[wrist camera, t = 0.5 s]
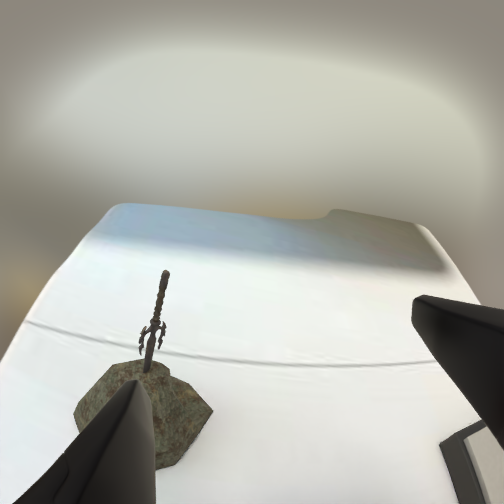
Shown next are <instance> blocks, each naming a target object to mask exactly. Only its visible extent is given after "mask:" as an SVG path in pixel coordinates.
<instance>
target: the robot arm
mask: <svg viewBox="0 0 504 504" xmlns="http://www.w3.org/2000/svg"><path fill="white" fill-rule="evenodd" d="M411 321H412V324H413V326H414V328H415V329H416V331H417V332H418V334H419V335H420V337H421V338H422V340H423V341H424V343H425V344H426V346H427V347H428V349H429V350H430V352H431V353H432V355H433V356H434V358H435V359H436V360H437V362H438V363H439V364H440V365H441V367H442V368H443V369H444V370H445V372H446V373H447V374H448V375H449V377H450V378H451V379H452V380H453V382H454V383H455V384H456V386H457V387H458V388H459V389H460V391H461V392H462V393H463V395H464V396H465V397H466V399H467V400H468V401H469V403H470V404H471V405H472V407H473V408H474V409H475V411H476V412H477V413H478V415H479V416H480V417H481V419H482V420H483V422H484V423H485V424H486V426H487V427H488V429H489V430H490V432H491V433H492V434H493V436H494V437H495V439H497V442H498V443H499V445H500V446H501V448H502V449H503V451H504V310H503V309H497V308H492V307H486V306H481V305H476V304H470V303H465V302H460V301H454V300H449V299H444V298H439V297H433V296H428V295H421V296H419V297H417V298H415V299H414V300H413V303H412V316H411ZM13 504H156V487H155V438H154V428H153V417H152V405H151V400H150V397H149V396H148V394H147V392H146V390H145V389H144V387H143V385H142V383H141V382H140V381H139V380H138V379H133V380H127V381H125V382H124V383H123V384H122V385H121V387H120V388H119V389H118V390H117V391H116V392H115V393H114V395H113V396H112V397H111V398H110V399H109V400H108V402H107V403H106V404H105V405H104V406H103V407H102V408H101V410H100V411H99V412H98V413H97V414H96V415H95V416H94V418H93V419H92V420H91V421H90V422H89V423H88V425H87V426H86V427H85V428H84V429H83V430H82V431H81V433H80V434H79V435H78V436H77V437H76V438H75V440H74V441H73V442H72V443H71V444H70V445H69V447H68V448H67V449H66V450H65V451H64V453H62V455H61V456H60V457H59V458H58V459H57V460H56V462H55V463H54V464H53V465H52V466H51V467H50V468H49V469H48V470H47V471H46V472H45V473H44V474H43V475H42V476H41V477H40V478H39V479H38V480H37V481H36V482H35V483H34V484H33V485H32V486H31V487H30V488H29V489H28V490H27V491H26V492H25V493H24V494H23V495H22V496H21V497H20V498H18V499H17V500H16V501H15V502H14V503H13Z"/></svg>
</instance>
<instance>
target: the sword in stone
mask: <svg viewBox="0 0 504 504" xmlns="http://www.w3.org/2000/svg"><path fill="white" fill-rule="evenodd" d="M169 276H170V273H169V271H167V270H164V271H163V273H162V275H161V281H160V285H159V292H158V294H157V297H158V298H157V300H156V307H155V309H154V310H155V312H154V314H153V315H154V316H153V319H151V320H150V323H151V326H150V327H149V328H148V329H147V330H146V328H147V327H146V326H145V327H144V328H143V330H142V332H141V333H140V334H141V337H140V338H139V344H140V343H141V345H140V346H139V352H140V355H141V350H142V348H144V337H145V335H146V334H147V333H149V332H151V334H150V337H149V339H148V341H147V347H146V354H145V358H144V359H139V360H134V361H129V362H124V363H119V364H114V365H112V366H111V367H110V368H109V369H108V370H107V371H106V373H105V374H104V375H103V376H102V377H101V378H100V379H99V380H98V381H97V382H96V384H95V385H94V386H93V387H92V388H91V389H90V390H89V391H88V392H87V393H86V395H85V396H84V397H83V398H82V399H81V400H80V401H79V403H78V405H77V407H76V409H75V411H74V414H73V415H74V418H75V421H76V424H77V427H78V430H79V433H81V431H82V430H83V429H84V428H85V427H86V426H87V425H88V423H89V422H90V421H91V420H92V419H93V418H94V416H95V415H96V414H97V413H98V412H99V411H100V410H101V408H102V407H103V406H104V405H105V404H106V403H107V402H108V400H109V399H110V398H111V397H112V396H113V395H114V393H115V392H116V391H117V390H118V389H119V388H120V387H121V385H122V384H123V383H124V382H125V381H127V380H133V379H138V380H139V381H140V382H141V383H142V385H143V387H144V389H145V390H146V392H147V394H148V396H149V397H150V400H151V405H152V417H153V428H154V438H155V470H157V469H161V468H165V467H168V466H172V465H175V464H176V463H177V461H178V460H179V459H180V457H181V456H182V455H183V454H184V452H185V451H186V450H187V448H188V447H189V446H190V444H191V443H192V442H193V440H194V439H195V438H196V436H197V435H198V433H199V432H200V430H201V429H202V427H203V426H204V424H205V423H206V421H207V420H208V418H209V417H210V415H211V414H212V412H213V410H212V409H211V408H210V407H209V406H208V405H207V403H206V402H205V401H204V400H203V399H202V398H201V397H200V396H199V395H198V394H197V392H196V391H195V390H194V389H193V388H192V387H191V386H190V385H189V384H188V383H186V382H184V381H181V380H179V379H177V378H175V377H172V376H170V370H169V368H167V367H166V366H165V365H163V364H162V363H159V362H156V361H153V360H152V356H153V352H154V347H155V343H156V337H155V333H156V331H157V330H158V329H161V335H160V337H159V340H158V342H159V346H158V349H160V346H161V344H162V342H163V340H162V337H163V336H165V329H166V325H165V323H164V322H163V326H162V327H161V326H159V325H160V324H161V321H160V320H159V319H160V317H159V316H160V315H161V313H160V312H161V310H162V308H161V307H162V305H163V298H164V297H165V290H166V288H167V284H168V279H169ZM145 330H146V331H145Z"/></svg>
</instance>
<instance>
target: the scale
mask: <svg viewBox="0 0 504 504" xmlns="http://www.w3.org/2000/svg"><path fill="white" fill-rule="evenodd" d="M440 447H441V450H442V453H443V455H444V458H445V461H446V464H447V467H448V469H449V472H450V475H451V478H452V481H453V484H454V487H455V490H456V493H457V497H458V500H459V503H460V504H504V451H503V449H502V448H501V446H500V445H499V443H498V442H497V439H495V437H494V436H493V434H492V433H491V432H490V430H489V429H488V427H487V426H486V424H485V423H484V422H483V420H480V421H478V422H476V423H474V424H472V425H470V426H468V427H466V428H464V429H462V430H460V431H458V432H456V433H454V434H453V435H452V436H450V437H449V438H447V439H446V440H445V441H443V442H442V443H440Z"/></svg>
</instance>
